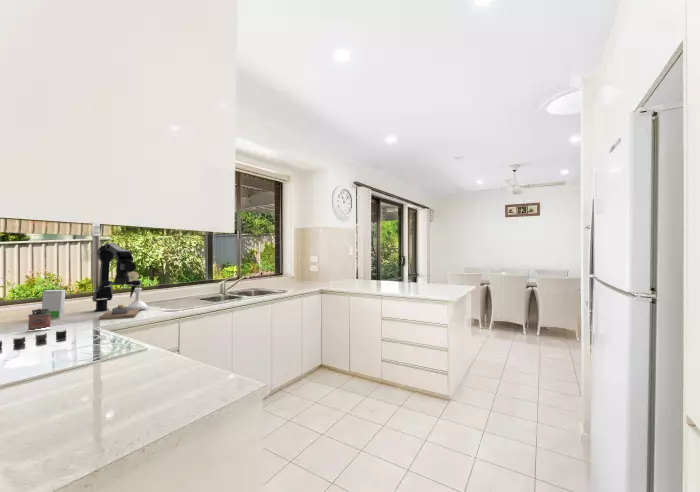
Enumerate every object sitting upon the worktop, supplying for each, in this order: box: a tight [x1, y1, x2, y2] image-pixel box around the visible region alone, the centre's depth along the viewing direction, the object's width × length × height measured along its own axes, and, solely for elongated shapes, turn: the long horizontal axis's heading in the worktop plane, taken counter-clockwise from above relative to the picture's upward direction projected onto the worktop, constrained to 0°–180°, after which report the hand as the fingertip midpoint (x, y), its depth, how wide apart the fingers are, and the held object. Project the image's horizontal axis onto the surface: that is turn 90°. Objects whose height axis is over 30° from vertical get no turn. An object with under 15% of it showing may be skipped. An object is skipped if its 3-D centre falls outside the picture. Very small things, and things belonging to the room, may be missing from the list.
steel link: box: [111, 306, 129, 314], centre depth 186 cm, size 7×7×3 cm
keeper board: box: [98, 304, 140, 321], centre depth 186 cm, size 20×16×6 cm
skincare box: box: [41, 289, 66, 320], centre depth 177 cm, size 8×7×16 cm
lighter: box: [27, 308, 52, 331], centre depth 149 cm, size 8×3×10 cm, turn 114°
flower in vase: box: [125, 271, 148, 311], centre depth 205 cm, size 13×11×25 cm
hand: (121, 297), depth 186 cm, fingers open, 9 cm apart
